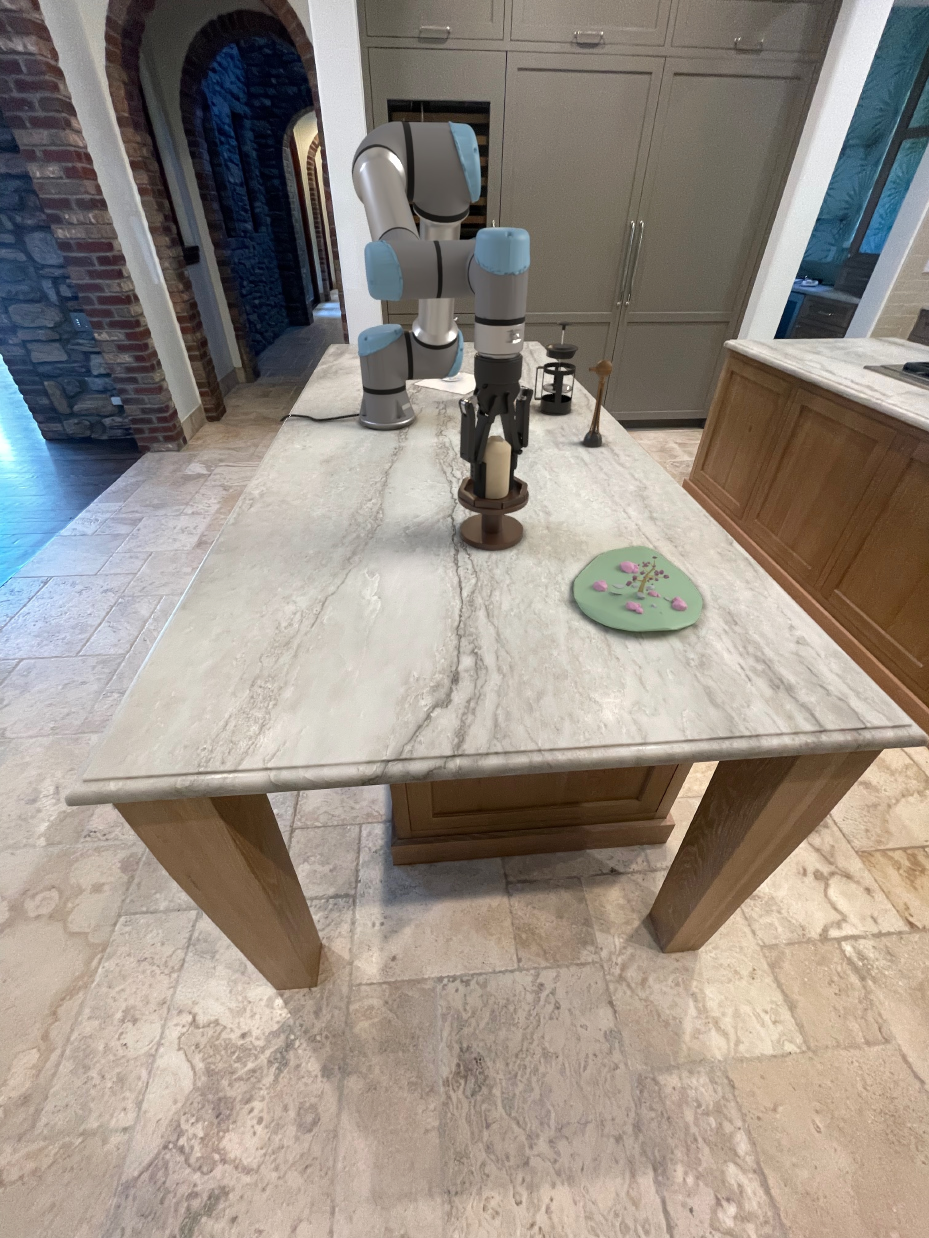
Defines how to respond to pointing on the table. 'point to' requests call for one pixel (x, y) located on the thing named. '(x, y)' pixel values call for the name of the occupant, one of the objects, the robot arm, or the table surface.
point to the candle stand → (492, 517)
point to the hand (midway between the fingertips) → (493, 491)
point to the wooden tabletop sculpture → (597, 404)
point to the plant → (637, 591)
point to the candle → (497, 467)
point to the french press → (557, 378)
